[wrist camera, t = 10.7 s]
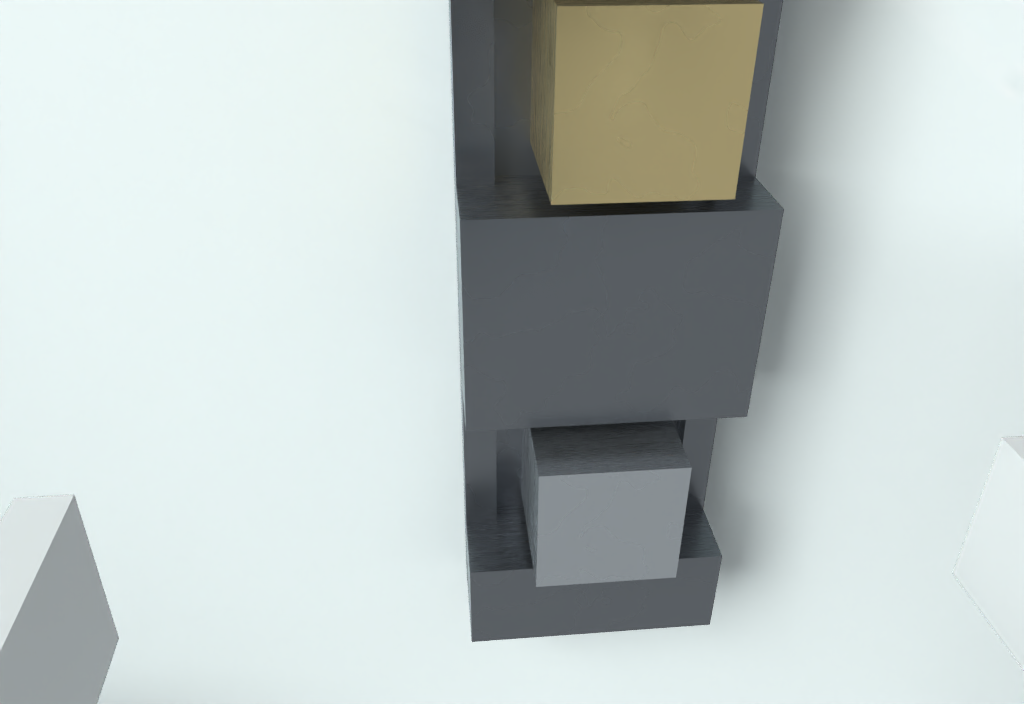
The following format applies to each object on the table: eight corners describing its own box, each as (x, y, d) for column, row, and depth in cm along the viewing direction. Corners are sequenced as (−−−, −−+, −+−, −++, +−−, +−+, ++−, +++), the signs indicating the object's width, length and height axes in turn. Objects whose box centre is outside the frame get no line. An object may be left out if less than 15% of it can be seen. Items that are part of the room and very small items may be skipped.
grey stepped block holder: (683, 552, 39) (709, 624, 36) (466, 566, 38) (471, 641, 35) (794, -203, 24) (857, -202, 21) (442, -205, 23) (448, -205, 20)
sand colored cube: (686, 139, 28) (735, 199, 24) (530, 142, 28) (551, 204, 24) (706, -31, 26) (763, 4, 21) (533, -29, 25) (557, 6, 21)
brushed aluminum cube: (645, 485, 36) (675, 577, 32) (521, 492, 35) (535, 586, 31) (656, 382, 33) (691, 467, 29) (522, 388, 33) (539, 476, 29)
